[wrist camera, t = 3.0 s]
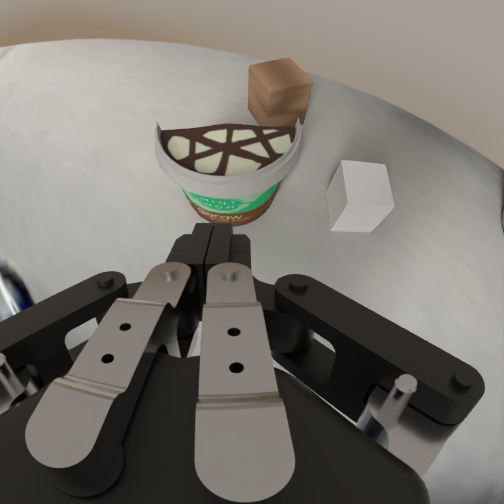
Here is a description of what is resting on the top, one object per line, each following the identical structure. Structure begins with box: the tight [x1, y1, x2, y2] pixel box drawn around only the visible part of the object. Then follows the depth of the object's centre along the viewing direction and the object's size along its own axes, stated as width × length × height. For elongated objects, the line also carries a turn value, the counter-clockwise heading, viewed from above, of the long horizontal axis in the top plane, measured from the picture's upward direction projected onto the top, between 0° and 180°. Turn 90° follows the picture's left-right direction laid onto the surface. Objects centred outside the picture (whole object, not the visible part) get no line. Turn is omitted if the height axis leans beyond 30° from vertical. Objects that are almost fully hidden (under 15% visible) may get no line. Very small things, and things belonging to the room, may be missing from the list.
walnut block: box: [248, 58, 313, 127], centre depth 32 cm, size 5×5×7 cm
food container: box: [154, 119, 302, 226], centre depth 26 cm, size 12×6×10 cm, turn 92°
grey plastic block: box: [326, 160, 395, 232], centre depth 28 cm, size 4×4×6 cm
